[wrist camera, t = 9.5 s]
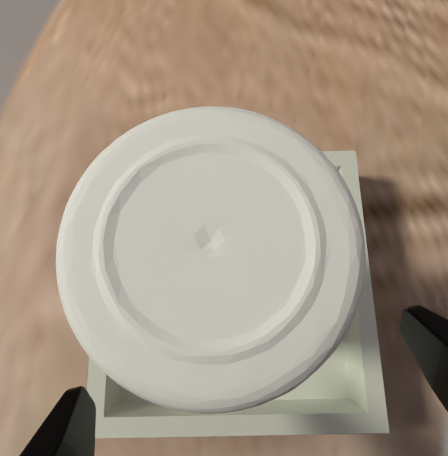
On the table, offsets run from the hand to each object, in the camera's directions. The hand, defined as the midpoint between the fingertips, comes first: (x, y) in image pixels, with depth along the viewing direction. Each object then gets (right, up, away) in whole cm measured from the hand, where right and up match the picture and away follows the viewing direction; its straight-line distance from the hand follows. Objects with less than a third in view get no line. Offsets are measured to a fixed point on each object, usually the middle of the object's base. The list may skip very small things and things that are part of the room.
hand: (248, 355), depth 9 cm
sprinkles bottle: (-1, 0, +9) cm, 9 cm away
